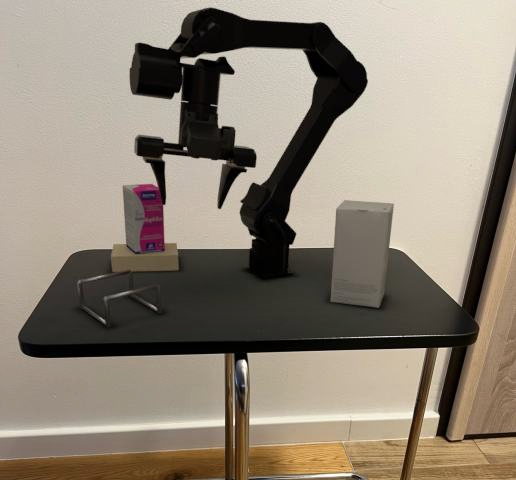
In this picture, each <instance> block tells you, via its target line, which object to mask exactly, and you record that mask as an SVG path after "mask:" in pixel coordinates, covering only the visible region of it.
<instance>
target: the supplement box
mask: <svg viewBox="0 0 516 480" xmlns="http://www.w3.org/2000/svg"><path fill="white" fill-rule="evenodd" d="M122 200H123V212H124V213H123V216H124V231H125V244H126V246H127V248H129V249H130V250H131V251H132V252H133V253H135V254H141V253H149V252H158V251H159V252H161V251H165V243H166V242H165V215H164V211H165V210H164V205H163V204H162V200H161V197H160V193H159V189H158V186H157V185H155V184H153V183H143V184H142V183H141V184H123V185H122Z"/></svg>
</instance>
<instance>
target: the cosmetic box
mask: <svg viewBox="0 0 516 480" xmlns="http://www.w3.org/2000/svg"><path fill="white" fill-rule="evenodd" d="M394 209H395V203H394V202H393V203H390V202H379V201H363V200H362V201H361V200H348V199H344V200H343V201H342V202H341V203H339V205H338V206H337V207H336V208H335V224H334V225H335V226H334V238H333V239H334V241H333V251H332V252H333V255H332V268H331V269H332V270H331V284H330V285H331V286H330V303H337V304H345V305H353V306H361V307H369V308H375V309H376V308H377V309H379V308H380V306H381V304H382V301H383V298H384V296H385V290H386V289H385V288H386V280H387V271H388V263H389V254H390V253H389V252H390V243H391V234H392V226H393V216H394Z"/></svg>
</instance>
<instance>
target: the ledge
mask: <svg viewBox="0 0 516 480" xmlns="http://www.w3.org/2000/svg"><path fill="white" fill-rule="evenodd" d="M164 243H165V251H161V252H159V251H158V252H149V253H141V254H135V253H133V252H132V251H131V250H130V249H129V248H127V246H126V243H114V244H113V246H112V249H111V254H110V262H111V263H110V264H111V273H116V272H121V271H126V270H132V273H133V272H169V271H171V272H172V271H180V266H179V265H180V264H179V252H178V244H177V242H164Z"/></svg>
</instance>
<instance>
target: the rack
mask: <svg viewBox="0 0 516 480" xmlns="http://www.w3.org/2000/svg"><path fill="white" fill-rule="evenodd" d="M125 275H127V279H128V290H127V291H122V292H119V293H115V294H114V293H113V294H108V295H106V296H103V299H102V302H103V311H104V318H103V317H102V316H100V315H99V314H97V313H95V312H94V311H93V310H91V309H90V308H88V307H87V306H86V303H85V297H84V296H85V295H84V287H83V284H87V283H88V284H89V283H92V282H96V281H101V280H106V279H110V278H115V277H120V276H125ZM133 275H134V274H133V272H132V270H126V271H121V272H111V273H106V274H102V275H97V276H93V277H92V276H91V277H87V278H82V279H78V280H77V281H76V284H77V291H78V292H77V294H78V299H79V308H80V310H82V311H84V312H85V313H87V314H89V315H90V316H91V317H93V318H94V319H96V320H97V321H99V322H100V323H101V324H103V325H104V326H105V328H106V329H107V328H108V329H109V328H111V327H112V323H111V313H110V302H109V301H111V300H116V299H119V298H124V297H127V296H129V298H132V299H134V300H135V301H137V302H139V303H140V304H142V305H144V306H146V307H147V308H149V309H151V310H153V311H154V312H156V313H157V314H158V315H159V314H160V315H161V314H162V313H163V311H162V309H163V308H162V291H161V285H160V284H158V283H157V284H151V285H148V286H144V287H140V288H136V289H134V277H133ZM153 290H155V301H156V302H155V303H156V306H155V305H153V304H152V303H150V302H148V301H146V300H145V299H143V298H141V297H140V296H137V295H136V294H141V293H144V292H149V291H153Z"/></svg>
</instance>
